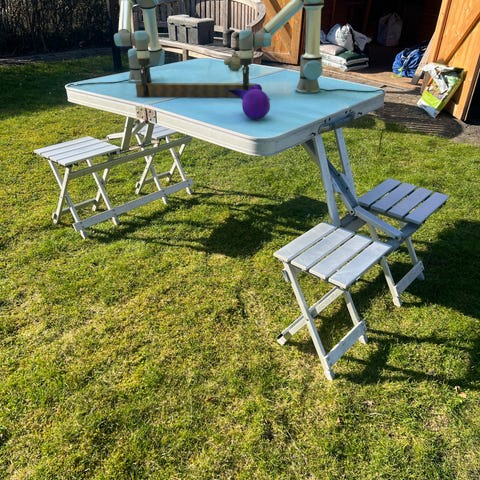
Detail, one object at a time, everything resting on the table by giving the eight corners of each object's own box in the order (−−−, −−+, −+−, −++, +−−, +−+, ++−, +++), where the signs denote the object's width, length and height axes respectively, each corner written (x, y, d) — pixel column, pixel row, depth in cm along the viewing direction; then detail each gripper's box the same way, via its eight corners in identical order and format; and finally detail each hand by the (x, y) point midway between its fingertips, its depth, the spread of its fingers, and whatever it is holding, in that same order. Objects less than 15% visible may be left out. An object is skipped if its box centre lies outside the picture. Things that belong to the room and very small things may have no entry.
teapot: (227, 73, 361) (227, 53, 353) (221, 70, 369) (220, 51, 362) (250, 70, 370) (250, 50, 362) (243, 68, 378) (242, 49, 371)
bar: (137, 96, 294) (135, 84, 290) (139, 95, 299) (138, 82, 295) (255, 97, 286) (255, 85, 282) (256, 95, 290) (256, 83, 286)
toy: (252, 108, 261) (269, 126, 240) (224, 103, 254) (239, 121, 233) (259, 81, 253) (278, 97, 232) (231, 75, 246) (247, 91, 225)
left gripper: (144, 60, 276) (149, 98, 287) (153, 55, 291) (157, 92, 303) (133, 60, 276) (138, 98, 288) (142, 55, 292) (146, 92, 304)
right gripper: (250, 60, 268) (250, 99, 280) (253, 55, 284) (253, 92, 296) (237, 60, 269) (238, 99, 281) (241, 55, 285) (242, 92, 297)
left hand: (148, 95), depth 296 cm, fingers closed on bar, 6 cm apart
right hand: (246, 96), depth 288 cm, fingers closed on bar, 6 cm apart
